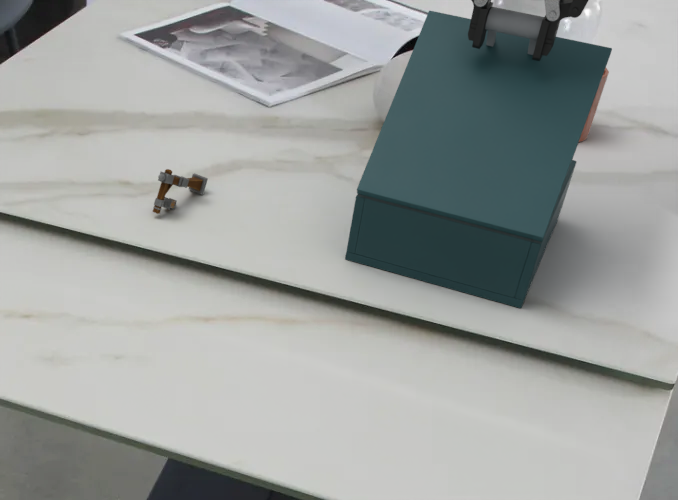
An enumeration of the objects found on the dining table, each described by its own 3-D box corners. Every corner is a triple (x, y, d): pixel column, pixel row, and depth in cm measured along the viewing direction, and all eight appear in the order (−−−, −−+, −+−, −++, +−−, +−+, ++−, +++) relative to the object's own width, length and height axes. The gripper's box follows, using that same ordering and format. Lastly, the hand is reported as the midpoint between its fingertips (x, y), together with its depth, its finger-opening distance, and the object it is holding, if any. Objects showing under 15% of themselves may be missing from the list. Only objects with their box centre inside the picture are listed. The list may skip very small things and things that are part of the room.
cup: (591, 127, 131) (612, 64, 126) (583, 147, 126) (604, 83, 121) (538, 115, 133) (556, 52, 127) (528, 134, 128) (546, 70, 123)
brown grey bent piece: (143, 209, 106) (155, 165, 104) (183, 212, 113) (194, 171, 111) (157, 215, 105) (169, 171, 104) (196, 217, 112) (208, 176, 111)
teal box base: (400, 180, 117) (412, 121, 112) (557, 220, 112) (576, 160, 107) (344, 259, 103) (355, 196, 98) (521, 308, 98) (541, 244, 94)
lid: (429, 15, 102) (430, -23, 97) (610, 53, 97) (621, 15, 92) (356, 193, 98) (354, 163, 94) (542, 242, 94) (550, 213, 89)
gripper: (652, -151, 86) (590, 54, 97) (484, -176, 90) (443, 24, 101) (641, -132, 81) (576, 82, 92) (462, -160, 85) (422, 49, 96)
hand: (507, 50), depth 97 cm, fingers closed on lid, 5 cm apart
